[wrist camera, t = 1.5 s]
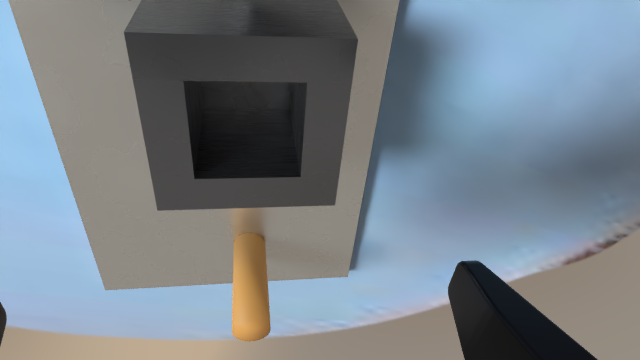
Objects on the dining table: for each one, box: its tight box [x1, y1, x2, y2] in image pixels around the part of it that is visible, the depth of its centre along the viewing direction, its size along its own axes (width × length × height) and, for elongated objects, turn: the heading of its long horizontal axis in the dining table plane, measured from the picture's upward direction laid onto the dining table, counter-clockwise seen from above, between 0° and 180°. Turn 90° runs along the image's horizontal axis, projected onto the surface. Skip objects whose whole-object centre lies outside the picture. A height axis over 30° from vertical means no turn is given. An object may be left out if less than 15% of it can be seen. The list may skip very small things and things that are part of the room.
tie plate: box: [9, 0, 399, 290], centre depth 17 cm, size 13×21×4 cm, turn 175°
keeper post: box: [232, 233, 270, 341], centre depth 21 cm, size 2×2×5 cm
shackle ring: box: [124, 0, 358, 211], centre depth 15 cm, size 6×6×4 cm
